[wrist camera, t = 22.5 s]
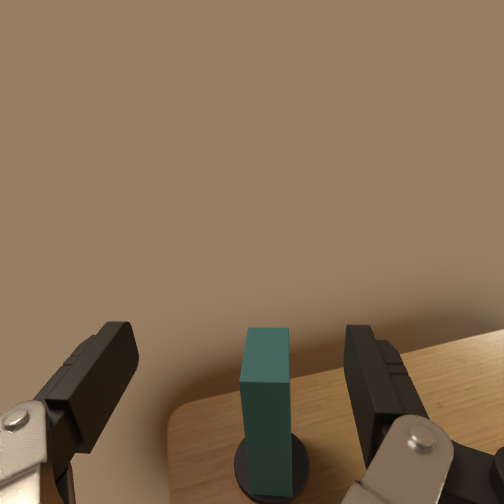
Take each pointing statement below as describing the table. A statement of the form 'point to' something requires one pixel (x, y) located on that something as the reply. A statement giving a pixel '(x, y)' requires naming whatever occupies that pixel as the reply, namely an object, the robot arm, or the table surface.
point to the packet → (267, 410)
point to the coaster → (298, 472)
